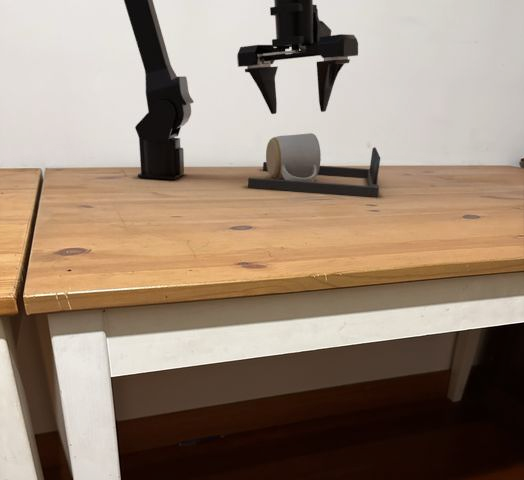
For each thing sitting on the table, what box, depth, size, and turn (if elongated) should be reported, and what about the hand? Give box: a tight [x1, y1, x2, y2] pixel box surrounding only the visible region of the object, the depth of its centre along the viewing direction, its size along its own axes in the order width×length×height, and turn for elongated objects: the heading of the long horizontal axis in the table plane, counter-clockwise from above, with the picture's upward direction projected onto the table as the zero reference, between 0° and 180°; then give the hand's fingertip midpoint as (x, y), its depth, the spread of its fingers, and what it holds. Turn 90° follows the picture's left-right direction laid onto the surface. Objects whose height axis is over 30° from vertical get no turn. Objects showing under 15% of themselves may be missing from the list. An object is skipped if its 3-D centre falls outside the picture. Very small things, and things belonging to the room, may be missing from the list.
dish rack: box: [247, 146, 381, 198], centre depth 91 cm, size 21×19×6 cm
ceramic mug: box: [265, 132, 322, 182], centre depth 91 cm, size 11×8×8 cm
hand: (297, 112), depth 85 cm, fingers open, 9 cm apart
